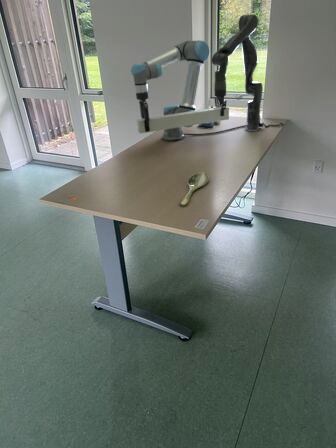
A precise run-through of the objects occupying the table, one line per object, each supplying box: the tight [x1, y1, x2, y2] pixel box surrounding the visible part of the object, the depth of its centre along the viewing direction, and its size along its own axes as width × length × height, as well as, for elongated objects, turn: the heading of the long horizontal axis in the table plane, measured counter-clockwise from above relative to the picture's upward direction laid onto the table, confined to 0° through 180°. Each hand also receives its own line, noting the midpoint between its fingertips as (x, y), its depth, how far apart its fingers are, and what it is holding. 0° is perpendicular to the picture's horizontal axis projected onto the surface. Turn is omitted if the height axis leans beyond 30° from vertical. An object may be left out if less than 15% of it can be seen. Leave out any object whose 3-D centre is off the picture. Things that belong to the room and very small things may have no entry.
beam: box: [136, 105, 230, 134], centre depth 217 cm, size 61×5×8 cm, turn 107°
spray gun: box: [198, 121, 221, 128], centre depth 272 cm, size 21×4×15 cm
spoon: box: [180, 171, 210, 207], centre depth 170 cm, size 35×11×2 cm, turn 159°
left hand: (146, 130), depth 213 cm, fingers closed on beam, 5 cm apart
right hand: (220, 114), depth 223 cm, fingers closed on beam, 5 cm apart
